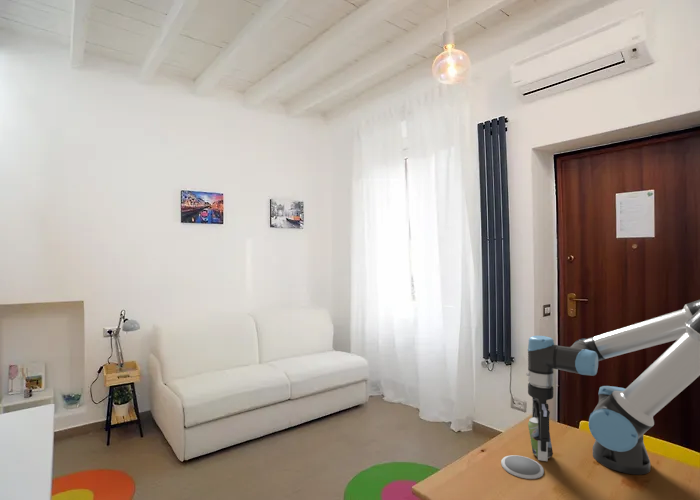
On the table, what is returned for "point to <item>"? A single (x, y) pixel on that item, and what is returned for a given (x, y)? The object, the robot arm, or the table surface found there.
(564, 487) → the table surface
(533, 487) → the table surface
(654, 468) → the table surface
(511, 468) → the grey white round coaster
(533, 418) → the beverage can
